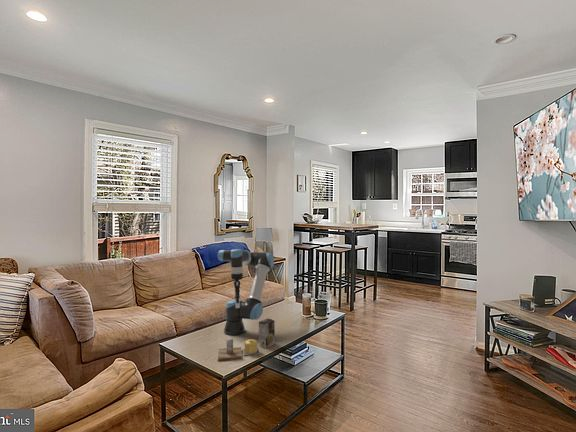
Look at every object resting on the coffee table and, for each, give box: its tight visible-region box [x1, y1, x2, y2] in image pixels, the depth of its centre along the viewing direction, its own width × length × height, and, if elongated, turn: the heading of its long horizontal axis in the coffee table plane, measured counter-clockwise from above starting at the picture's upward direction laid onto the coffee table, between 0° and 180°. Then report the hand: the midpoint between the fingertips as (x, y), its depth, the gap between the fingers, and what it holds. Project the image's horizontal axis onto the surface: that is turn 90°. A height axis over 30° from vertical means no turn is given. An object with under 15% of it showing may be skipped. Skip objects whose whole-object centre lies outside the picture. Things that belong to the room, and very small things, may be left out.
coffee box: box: [258, 318, 276, 349], centre depth 223 cm, size 9×6×16 cm
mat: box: [243, 346, 260, 357], centre depth 212 cm, size 10×9×1 cm
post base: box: [217, 338, 243, 362], centre depth 208 cm, size 14×14×10 cm
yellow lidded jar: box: [244, 338, 258, 354], centre depth 212 cm, size 8×8×7 cm
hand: (237, 304), depth 223 cm, fingers open, 13 cm apart
